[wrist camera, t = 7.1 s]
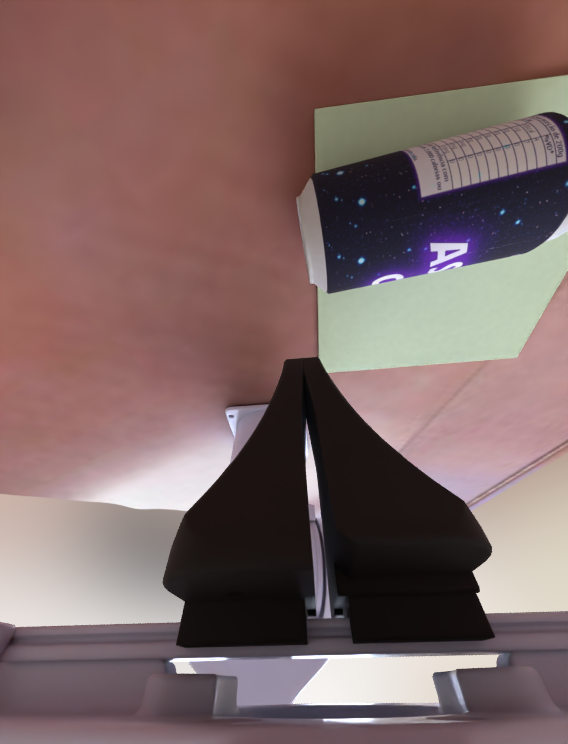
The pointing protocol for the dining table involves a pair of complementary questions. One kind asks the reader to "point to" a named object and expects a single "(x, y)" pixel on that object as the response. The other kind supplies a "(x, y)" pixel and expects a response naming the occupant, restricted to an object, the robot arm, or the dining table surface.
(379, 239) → the beverage can
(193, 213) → the dining table surface
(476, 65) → the dining table surface
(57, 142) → the dining table surface
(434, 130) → the mat
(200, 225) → the dining table surface
